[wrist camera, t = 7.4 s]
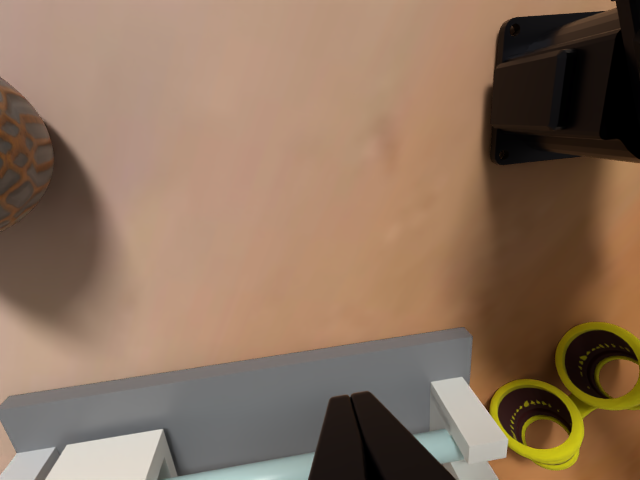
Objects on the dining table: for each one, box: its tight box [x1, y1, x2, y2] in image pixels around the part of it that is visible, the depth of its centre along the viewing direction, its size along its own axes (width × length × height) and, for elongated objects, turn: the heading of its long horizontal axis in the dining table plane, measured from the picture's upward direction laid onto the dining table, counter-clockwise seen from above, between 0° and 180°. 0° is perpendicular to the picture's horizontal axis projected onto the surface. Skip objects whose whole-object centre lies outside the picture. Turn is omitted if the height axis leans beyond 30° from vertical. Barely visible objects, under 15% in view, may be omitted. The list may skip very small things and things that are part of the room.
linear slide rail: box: [0, 327, 508, 480], centre depth 19 cm, size 26×10×6 cm, turn 95°
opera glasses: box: [490, 322, 640, 470], centre depth 22 cm, size 10×5×5 cm, turn 136°
